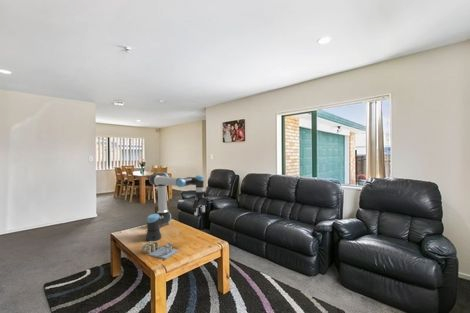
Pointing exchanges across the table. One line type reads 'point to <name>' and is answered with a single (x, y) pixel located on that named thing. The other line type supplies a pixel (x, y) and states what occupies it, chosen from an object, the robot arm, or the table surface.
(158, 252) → the boss board
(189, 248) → the table surface
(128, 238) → the table surface
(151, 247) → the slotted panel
